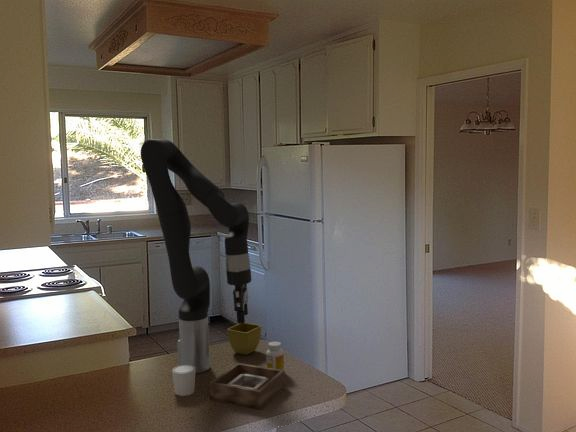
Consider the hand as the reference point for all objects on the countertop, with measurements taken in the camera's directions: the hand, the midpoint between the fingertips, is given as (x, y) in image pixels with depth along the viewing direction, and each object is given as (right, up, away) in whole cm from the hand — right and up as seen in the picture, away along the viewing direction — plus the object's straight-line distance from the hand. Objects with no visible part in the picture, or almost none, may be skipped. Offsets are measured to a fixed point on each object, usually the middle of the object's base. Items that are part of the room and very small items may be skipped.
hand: (242, 318), depth 170 cm
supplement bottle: (+10, -18, +3) cm, 21 cm away
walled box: (+3, -19, -11) cm, 23 cm away
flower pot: (-1, -16, +22) cm, 27 cm away
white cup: (-16, -20, -9) cm, 27 cm away
